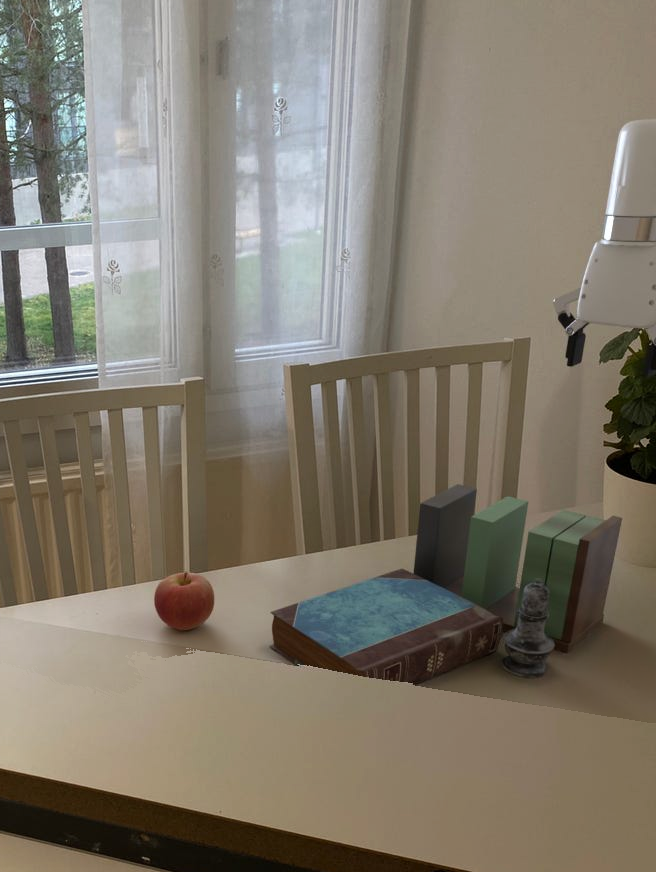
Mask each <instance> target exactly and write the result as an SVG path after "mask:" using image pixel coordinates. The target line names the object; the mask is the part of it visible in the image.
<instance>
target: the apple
mask: <svg viewBox="0 0 656 872" xmlns="http://www.w3.org/2000/svg"><path fill="white" fill-rule="evenodd" d="M153 601H154V602H153V603H154V608H155V611H156V613H157V616H158V617H159V618H160V620H161V621H162V622H163V623H164V624H166V625H167V626H168V627H170V628H172V629H175V630H179V631H189V630H193V629H195V628H197V627H199V626H201V625H203V624H204V623H205V622H206V621H207V620H208V619H209V618H210V616H211V615H212V613H213V611H214V607H215V591H214V589H213V586H212V584H211V583H210V580H208V579H207V578H206V577H204V576H203V574H202V575H201V574H199V573H196V572H188V571H184V572H179V573H174V574H171V575H168V576H167V577H164V578H163V579H162V580H161V581H160V582H159V583H158V585H157V586H156V588H155V591H154V597H153Z"/></svg>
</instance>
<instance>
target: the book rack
mask: <svg viewBox="0 0 656 872" xmlns="http://www.w3.org/2000/svg"><path fill="white" fill-rule="evenodd" d="M477 492H478V489H477V488H475V487H471V486H467V485H463V484H459V483H457V484H455V485H453V486H451V487H449V488H447V489H445V490H444V491H441V492H439V493H438V494H435V495H433V496H432V497H429V498H427V499H426V500H424V501H422V502H420V503H419V513H418V522H417V534H416V544H415V554H414V565H413V572H412V573H413V574H415V575H417V576H419V577H421V578H423V579H425V580H427V581H430V582H432V583H434V584H436V585H438V586H440V587H442V588H444V589H446V590H448V591H450V592H452V593H454V594H456V595H458V596H460V597H461V595H462V587H463V579H464V571H465V563H466V555H467V547H468V539H469V531H470V523H471V517H472V516H474V515H475V507H476V500H477ZM622 521H623V517H621V516H616V515H611V516H610V517H608V518H606V519H603V518H600V517H599V518H598V517H595V516H591V515H586V514H582V513H579V512H578V513H577V512H575V511H570V510H567V509H562V510H560V511H559V512H557V513H555V514H554V515H553V516H551V517H549V518H548V519H546V520H544V521H543V522H541V523H540V524H539V525H537V526H535V527H534V528H532V529H530V530H529V531H528V533H527V538H526V539H527V541H526V546H525V550H524V551H525V553H524V558H523V564H522V571H521V578H520V584H519V587H517V586H516V587H515V589H514V590H512V591H511V592H510V593H508V594H507V595H505V596H504V597H503V598H501V599H500V600H498V601H497V602H495V603H494V604H493V605H491V606H490V607H488V608H487V609H486V610H487V611H488V612H490V613H492V614H493V615H494V616H502V618H503V628H502V632H504V633H506V632H508V631H510V630H513V629H516V627H517V625H518V619H519V614H518V613H517V609H518V608H519V607H521V604H522V598H523V592H524V588H525V586H526V585H528V584H530V583H535V582H536V581H535V580H536V579H537V578H538V577H539V578H540V579H541V582H540V583H541V584H543V585H545V586H546V587H547V588H548V590H549V599H548V605H547V611H548V613H549V617H548V618H547V619H546V620H545V626H544V634H545V635H547V636H549V637H550V638H551V639H552V640H553V642H554V648H553V650H557V651H560V652H563V653H567V654H568V653H569V652H570V651H571V650H572V649H573V648H575V647H576V646H577V645H579V643H580V642H582V641H583V640H584V639H585V638H586V637H587V636H588V635H590V634H591V633H592V632H593V631H594V630H596V629H597V628H598V627H599V626H600V625H601V624H602V623H603V622H604V617H605V614H604V610H605V605H606V602H607V601H606V600H607V596H608V592H609V591H608V590H609V587H610V586H609V585H610V580H611V576H612V571H613V567H614V562H615V556H616V551H617V547H618V541H619V538H620V537H619V536H620V531H621V527H622Z"/></svg>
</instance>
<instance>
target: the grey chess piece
mask: <svg viewBox="0 0 656 872" xmlns="http://www.w3.org/2000/svg"><path fill="white" fill-rule="evenodd" d="M535 581H536V582H535V583H530V584H528V585H526V586H525V588H524V592H523V598H522V604H521V607H519V608H518V609H517V613H518V614H519V619H518V625H517V627H516V629H513V630H510V631H508V632H504V634H503V635H502V641H503V643H504V649H505V652H506V654H507V655H506V656H505V657H503V658H502V659H501V664H500V665H501V667H502V668H503V669H504V670H505V671H506V672H507V673H509V674H512V675H514V676H517V677H520V678H527V679H529V678H530V679H533V678H534V679H535V678H539V677H543V676H544V675H546V674H547V673H548V666H547V664H546V663H545V662H544V661H545V660H546V659H547V658H548V657H549V655H550V654H551V651H553V650H554V642H553V640H552V639H551V638H550V637H549V636H547V635H545V634H544V626H545V620H546V619H547V618H548V617H549V613H548V611H547V605H548V599H549V590H548V588H547V587H546V586H545V585H543V584H541V583H540V582H541V579H540V578H539V577H538V578H537V579H536V580H535Z"/></svg>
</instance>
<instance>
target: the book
mask: <svg viewBox="0 0 656 872" xmlns="http://www.w3.org/2000/svg"><path fill="white" fill-rule="evenodd" d="M413 573H414V572H411V571H409V570H407V569H405V568H399V569H396V570H393V571H390V572H387V573H384V574H380V575H378V576H375V577H372V578H369V579H366V580H363V581H360V582H356V583H354V584H351V585H348V586H344V587H341V588H339V589H336V590H333V591H329V592H327V593H324V594H321V595H318V596H315V597H311V598H308V599H305V600H302V601H300V602H296V603H293V604H290V605H288V606H284V607H281V608H278V609H275V610H273V611H270V614H271V615H272V616H273V620H272V622H271V634H272V640H273V644H270V645H269V648H271V649H272V650H274V651H276V652H277V653H278V654H280V655H281V656H282V657H284V658H285V659H287V660H289V661H290V662H292V663H293V664H294V665H296V664H300V665H307V666H309V665H310V666H313V667H318V668H323V669H328V670H332V671H337V672H343V673H348V674H353V675H358V676H363V677H369V678H376V679H382V680H390V681H399V682H408V683H413V684H415V685H417V684H420V683H422V682H425V681H427V680H430V679H432V678H434V677H437V676H439V675H441V674H444V673H446V672H449V671H451V670H454V669H456V668H458V667H460V666H463V665H466V664H468V663H470V662H473V661H475V660H477V659H480V658H482V657H485V656H487V655H490V654H492V653H494V652H497V651H498V649H499V647H500V643H501V638H502V634H503V631H502V628H503V618H502V616H494V615H493V614H492V613H490V612H488V611H487V610H485V609H483V608H482V607H480V606H478V605H476V604H474V603H472V602H470V601H468V600H466V599H464V598H462V597H460V596H458V595H456V594H454V593H452V592H450V591H448V590H446V589H444V588H442V587H440V586H438V585H436V584H434V583H432V582H430V581H427V580H425V579H423V578H421V577H419V576H417V575H415V574H413Z"/></svg>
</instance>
